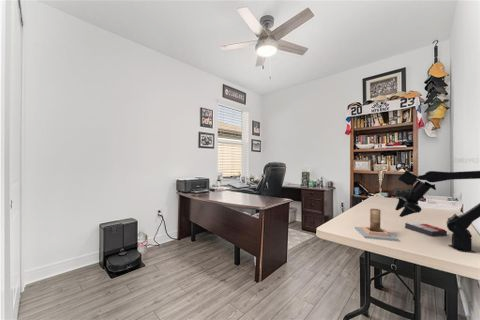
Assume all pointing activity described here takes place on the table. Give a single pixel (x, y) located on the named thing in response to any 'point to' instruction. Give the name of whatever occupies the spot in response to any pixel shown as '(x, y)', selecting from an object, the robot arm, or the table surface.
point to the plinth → (376, 234)
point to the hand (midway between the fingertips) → (398, 213)
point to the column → (375, 220)
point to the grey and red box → (425, 229)
